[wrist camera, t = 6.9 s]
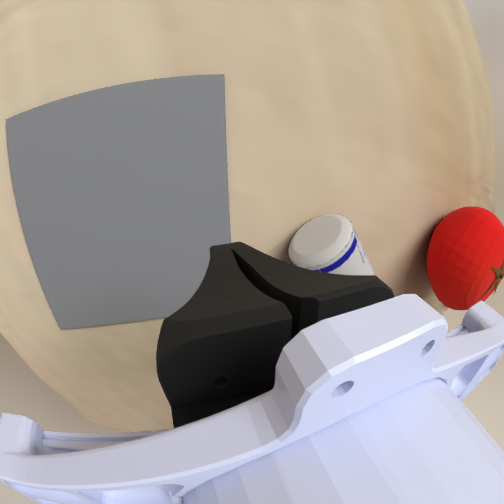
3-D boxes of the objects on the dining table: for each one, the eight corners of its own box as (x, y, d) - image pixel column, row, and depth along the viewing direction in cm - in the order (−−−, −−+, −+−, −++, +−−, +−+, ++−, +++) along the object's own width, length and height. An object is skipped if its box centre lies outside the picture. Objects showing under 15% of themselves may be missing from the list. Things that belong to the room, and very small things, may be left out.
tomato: (469, 231, 33) (522, 263, 23) (422, 295, 34) (472, 339, 25) (454, 176, 27) (524, 205, 17) (397, 251, 29) (468, 301, 19)
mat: (233, 303, 25) (234, 305, 25) (61, 326, 21) (60, 329, 20) (223, 75, 16) (224, 74, 16) (8, 119, 12) (5, 119, 12)
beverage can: (346, 255, 17) (391, 348, 25) (352, 202, 21) (394, 304, 28) (277, 267, 21) (343, 350, 29) (293, 218, 24) (351, 309, 32)
